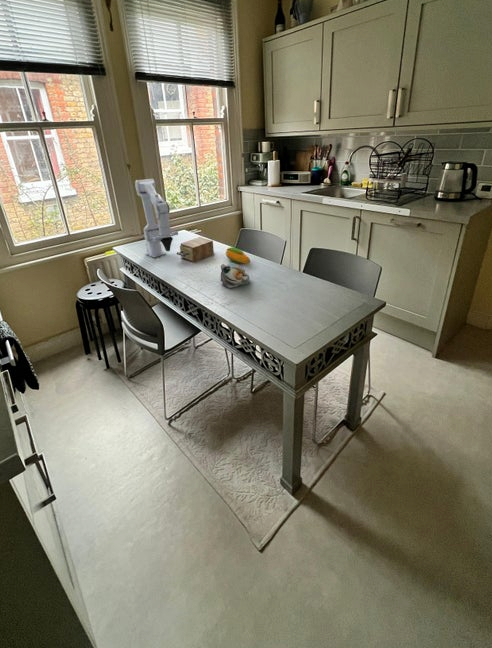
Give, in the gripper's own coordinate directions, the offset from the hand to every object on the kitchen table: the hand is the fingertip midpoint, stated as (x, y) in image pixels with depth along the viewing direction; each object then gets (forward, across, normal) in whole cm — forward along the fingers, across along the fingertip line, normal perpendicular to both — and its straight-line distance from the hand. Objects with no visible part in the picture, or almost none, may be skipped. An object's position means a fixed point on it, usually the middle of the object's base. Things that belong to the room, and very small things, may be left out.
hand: (167, 250), depth 169 cm
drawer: (+8, +16, 0) cm, 18 cm away
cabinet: (+9, +20, 0) cm, 22 cm away
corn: (+9, +28, -26) cm, 39 cm away
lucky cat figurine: (+9, +7, -44) cm, 45 cm away
